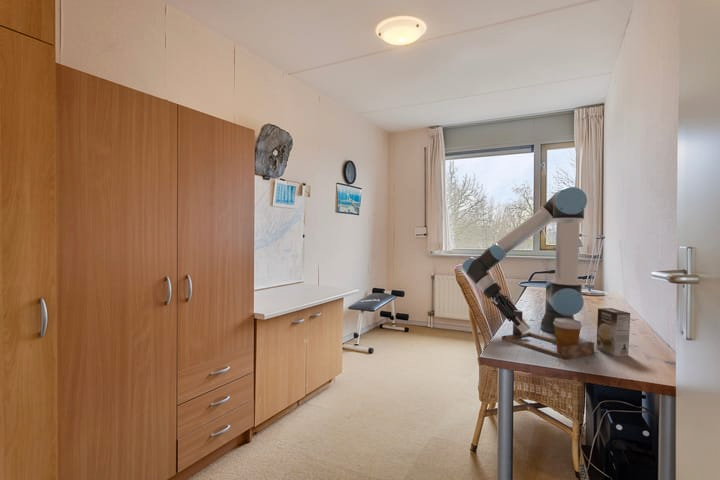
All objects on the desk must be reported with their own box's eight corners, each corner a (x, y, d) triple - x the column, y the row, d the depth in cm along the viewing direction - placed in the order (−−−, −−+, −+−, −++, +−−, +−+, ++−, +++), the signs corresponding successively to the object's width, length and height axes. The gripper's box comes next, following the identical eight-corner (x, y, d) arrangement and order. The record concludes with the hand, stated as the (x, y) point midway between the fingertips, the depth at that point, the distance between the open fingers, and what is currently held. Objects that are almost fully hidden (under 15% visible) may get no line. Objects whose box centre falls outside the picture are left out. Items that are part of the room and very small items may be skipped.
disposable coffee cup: (585, 357, 135) (586, 324, 135) (556, 355, 137) (557, 322, 137) (575, 349, 145) (576, 318, 144) (548, 347, 146) (549, 317, 146)
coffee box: (595, 348, 147) (596, 307, 146) (609, 348, 148) (610, 307, 147) (614, 356, 138) (616, 312, 137) (629, 355, 139) (631, 312, 138)
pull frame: (526, 333, 166) (527, 308, 166) (593, 353, 140) (594, 323, 140) (499, 338, 158) (500, 311, 158) (565, 359, 132) (566, 328, 132)
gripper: (490, 290, 176) (526, 331, 166) (475, 294, 164) (513, 339, 153) (501, 280, 173) (539, 322, 162) (488, 283, 160) (527, 329, 150)
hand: (526, 330), depth 158 cm, fingers closed on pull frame, 4 cm apart
